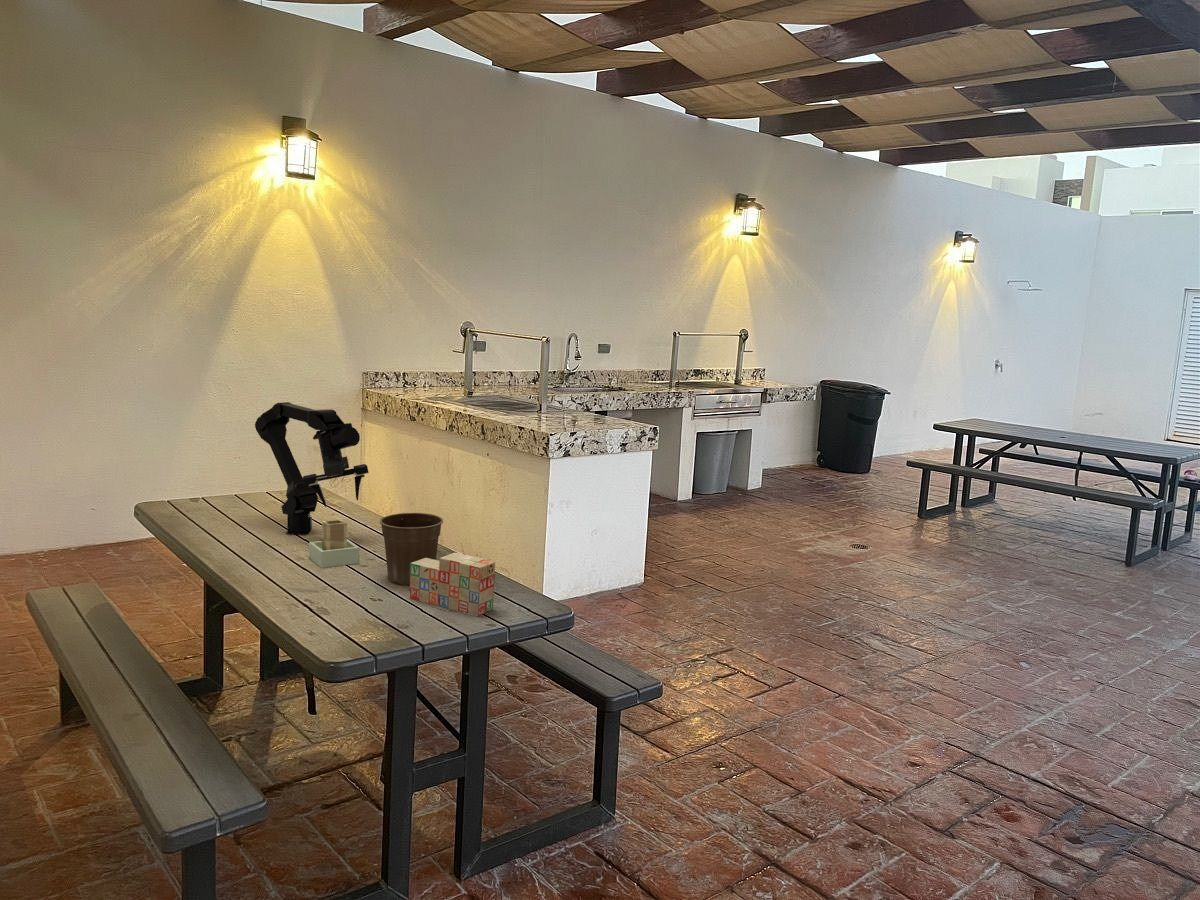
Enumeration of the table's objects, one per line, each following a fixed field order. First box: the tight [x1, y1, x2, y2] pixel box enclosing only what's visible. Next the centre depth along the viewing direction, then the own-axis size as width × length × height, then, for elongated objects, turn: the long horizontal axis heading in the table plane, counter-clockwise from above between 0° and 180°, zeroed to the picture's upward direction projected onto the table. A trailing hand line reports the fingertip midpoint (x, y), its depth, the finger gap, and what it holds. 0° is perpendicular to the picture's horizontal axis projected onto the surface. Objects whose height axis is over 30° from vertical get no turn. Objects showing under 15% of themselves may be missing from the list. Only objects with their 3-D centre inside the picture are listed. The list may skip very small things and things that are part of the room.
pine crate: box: [321, 519, 348, 551], centre depth 254 cm, size 5×5×10 cm
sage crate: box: [308, 538, 360, 569], centre depth 255 cm, size 11×11×4 cm
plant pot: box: [379, 512, 444, 586], centre depth 241 cm, size 16×16×16 cm
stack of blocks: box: [409, 552, 496, 617], centre depth 224 cm, size 21×6×12 cm, turn 61°
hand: (341, 503), depth 271 cm, fingers open, 9 cm apart
